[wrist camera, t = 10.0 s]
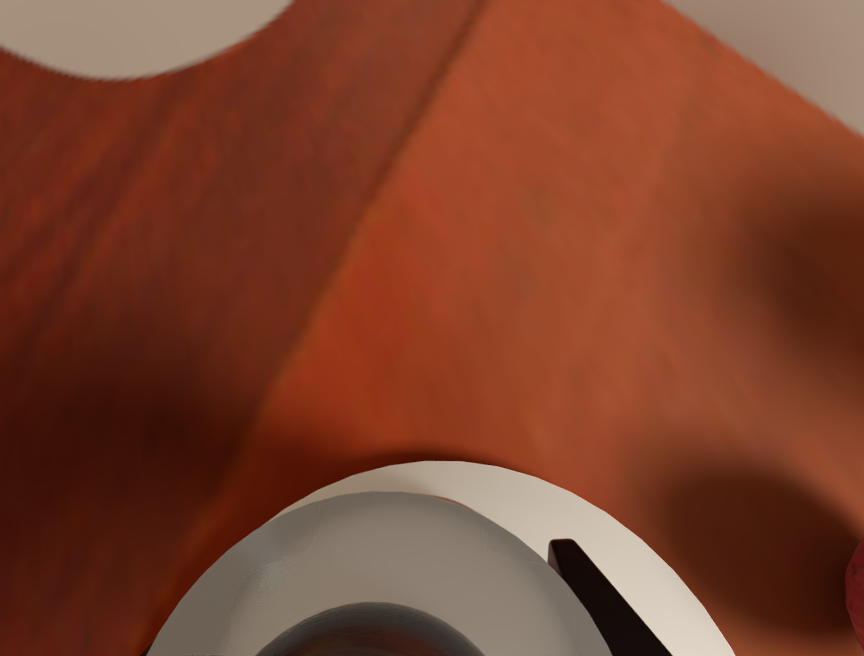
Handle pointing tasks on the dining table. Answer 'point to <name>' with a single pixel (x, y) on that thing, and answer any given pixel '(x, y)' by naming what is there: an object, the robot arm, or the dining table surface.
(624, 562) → the plate
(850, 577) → the onion
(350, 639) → the pepper mill
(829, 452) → the dining table surface
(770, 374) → the dining table surface
